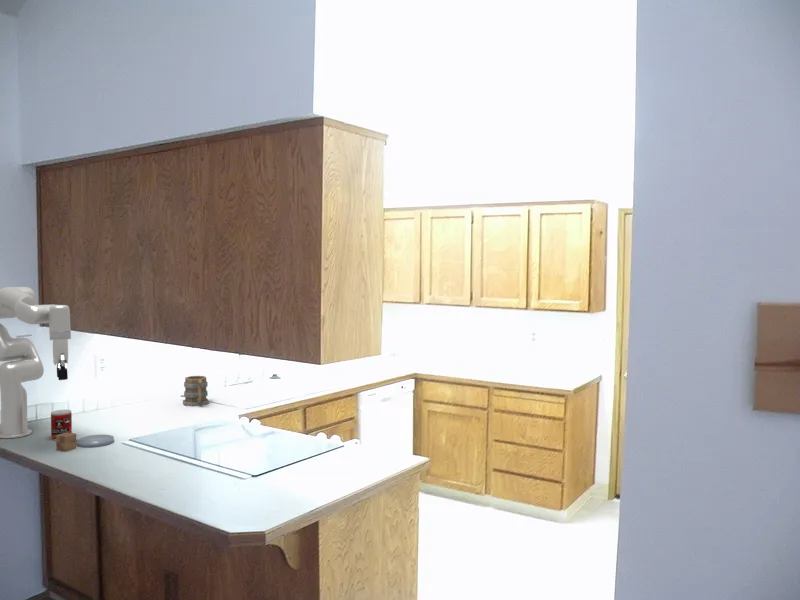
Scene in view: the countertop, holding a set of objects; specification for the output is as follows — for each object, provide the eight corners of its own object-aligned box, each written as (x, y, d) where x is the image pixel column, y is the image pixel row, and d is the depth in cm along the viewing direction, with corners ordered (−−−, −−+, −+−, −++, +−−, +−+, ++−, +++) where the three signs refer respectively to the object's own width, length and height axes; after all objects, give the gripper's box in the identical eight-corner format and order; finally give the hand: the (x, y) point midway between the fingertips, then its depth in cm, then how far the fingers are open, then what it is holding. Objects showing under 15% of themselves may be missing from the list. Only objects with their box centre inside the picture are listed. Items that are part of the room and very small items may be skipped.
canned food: (49, 440, 267) (48, 414, 266) (53, 435, 274) (53, 409, 274) (69, 439, 269) (69, 413, 268) (73, 434, 276) (73, 409, 276)
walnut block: (56, 450, 253) (56, 435, 253) (67, 447, 258) (66, 432, 258) (65, 451, 251) (65, 436, 251) (76, 448, 256) (76, 433, 256)
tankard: (181, 402, 342) (181, 374, 341) (206, 400, 347) (206, 372, 346) (186, 410, 324) (186, 380, 323) (212, 408, 329) (212, 379, 328)
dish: (68, 445, 260) (68, 441, 260) (95, 436, 273) (95, 433, 273) (94, 449, 255) (94, 445, 255) (121, 440, 268) (121, 436, 268)
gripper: (48, 335, 263) (50, 376, 264) (50, 338, 248) (52, 382, 249) (69, 333, 267) (71, 374, 268) (72, 336, 252) (74, 379, 253)
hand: (62, 378), depth 258 cm, fingers open, 9 cm apart
